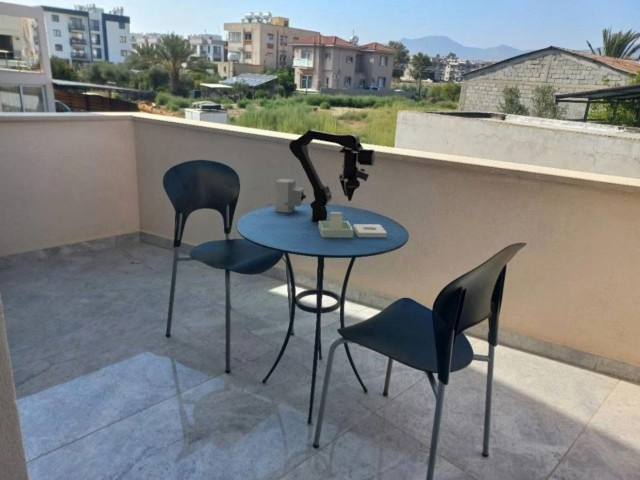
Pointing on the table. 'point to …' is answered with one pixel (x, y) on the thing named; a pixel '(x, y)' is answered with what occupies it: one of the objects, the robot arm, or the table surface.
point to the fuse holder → (369, 230)
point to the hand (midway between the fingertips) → (347, 198)
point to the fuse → (335, 220)
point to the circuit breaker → (288, 195)
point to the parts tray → (336, 230)
